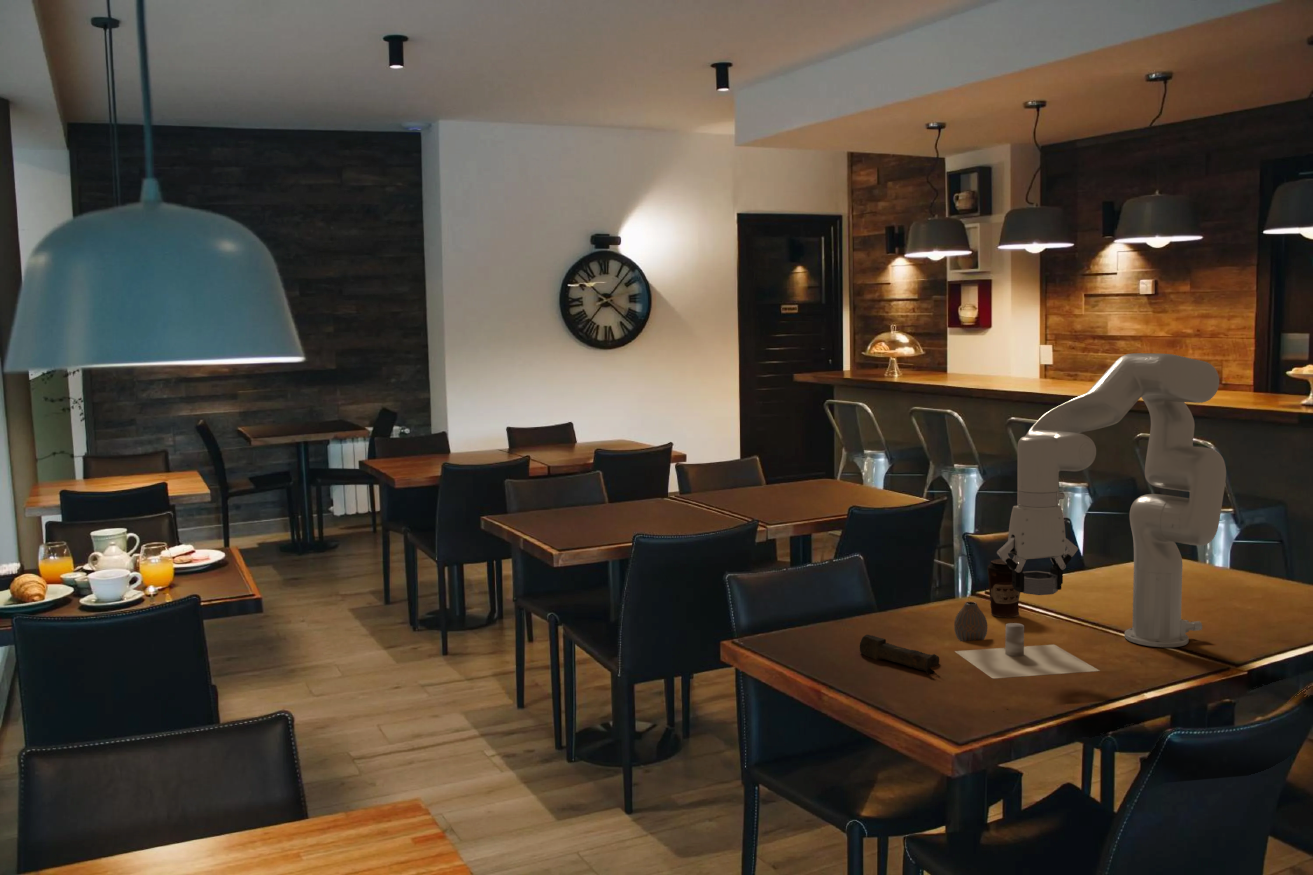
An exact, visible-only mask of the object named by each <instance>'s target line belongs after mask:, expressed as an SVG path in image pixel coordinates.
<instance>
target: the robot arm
mask: <svg viewBox="0 0 1313 875" xmlns="http://www.w3.org/2000/svg"><path fill="white" fill-rule="evenodd" d="M1219 386H1220V377H1219V373H1218V371H1217V369H1216V368H1215V366H1213V364H1211V363H1209V362H1208V361H1204V360H1199V359H1195V358H1191V357H1190V358H1189V357H1186V356H1181V355H1177V354H1172V353H1151V352H1150V353H1142V352H1139V353H1138V352H1136V353H1126V354H1124V355H1122V356H1120V357H1118V358H1117V359H1116V360H1115V361H1114V363H1113V364H1112V365H1111V366H1110V367H1109V368H1108V369H1107V370H1106V371H1105V372H1104V374H1103V375H1102V376H1100V378H1099V379H1098V380H1097V381H1096V382H1095V383H1094V384H1093V385H1092V386H1091V387H1090V388H1089V389H1088V391H1086V392H1085V393H1083V394H1081V395H1079V396H1077V397H1074V398H1072V399H1070V400H1068V401H1066V402H1063V403H1061V404H1060V405H1058V406H1055V407H1054V408H1051V409H1050V410H1049V411H1047V412H1045V413H1044V414H1043V415H1042V416H1041V417H1040V418H1039V419H1038V420H1037V421H1036V422H1035V423H1034V424H1033V425H1032V426H1031V427H1030V428H1029V430H1028V431H1027V432H1026V434H1025V435H1024V436H1022V437H1020V439H1019V440H1018V442H1017V498H1016V499H1017V501H1016V502H1017V505H1013V506H1012V509H1011V513H1010V514H1011V515H1010V519H1009V525H1008V527H1009V528H1008V534H1007V535H1008V536H1007V541H1006V542H1005V544H1003V546H1001V547H1000V548H999V549H998V550H997V551H996V554H997V556H999V559H1002V560H1003V561H1004V563H1005V564H1006V565H1007V566H1009V568H1010V569H1011V570H1012V586H1013V587H1014V590H1016V591H1018V592H1020V594H1021V593H1022V592H1024V572H1025V571H1023V572H1022V568H1023V567H1024V566H1025V564H1026V561H1027V560H1035V559H1044V558H1045V559H1050V561H1051V563H1052V566H1050V568H1049V570H1050V571H1049V572H1050V573H1052V574H1055V575H1057V576H1058V591H1059V590H1062V585H1063V583H1064V570H1065V569H1066V567H1067V565H1068V564H1069V563H1070V561H1071V560H1072V557H1074V556H1075V554H1076V553H1077V551H1078V550H1079V549H1078V547H1077V546H1076V545H1075V544H1074V543H1073V542H1072V541H1070V539H1068V538H1066V525H1065V518H1064V514H1063V510H1062V506H1061V505H1059V504H1060V500H1064V499H1065V492H1062V491H1061V492H1060V490H1059V489H1060V488H1059V482H1060V481H1059V480H1060V479H1059V478H1060V477H1059V474H1060V472H1061V471H1063V472H1064V471H1065V472H1066V471H1067V472H1081V471H1083V470H1085V469H1087V468H1089V467H1090V466H1091V465H1092V464H1093V463H1094V461H1095V459H1096V456H1097V448H1096V445H1095V441H1093V439H1092V438H1090V436H1087V435H1086V434H1083V433H1084V432H1089V431H1095V430H1100V429H1102V428H1107V427H1110V426H1113V425H1116V424H1118V423H1119V422H1121V420H1123V418H1124V417H1125V416H1126V415H1127V414H1128V412H1129V411H1130V410H1131V409H1132V408H1133V407H1134V405H1135V404H1136V403H1137V402H1138V401H1139V400H1141V399H1142V401H1143V402H1144V404H1145V405H1146V407H1147V410H1148V412H1149V417H1150V429H1149V430H1150V432H1149V436H1148V442H1147V449H1146V450H1147V451H1146V455H1145V456H1146V458H1145V462H1144V463H1145V465H1144V476H1145V480H1146V482H1148V484H1150V485H1151V486H1153V487H1156V488H1160V489H1167V490H1174V491H1182V492H1188V493H1189V496H1188V497H1183V496H1182V497H1181V496H1176V495H1175V496H1174V495H1167V494H1159V493H1149V494H1147V493H1146V494H1144V495H1140V496H1139V497H1137V498H1136V499H1134V501H1133V502H1132V504H1131V506H1130V510H1129V524H1130V528H1131V533H1132V540H1133V543H1132V544H1133V580H1132V581H1133V583H1132V584H1133V587H1132V588H1133V589H1132V590H1133V591H1132V594H1133V595H1132V627H1130V628H1128V629H1126V630H1125V631H1124V638H1125V639H1126V640H1127V641H1129V642H1130V643H1134V644H1138V645H1141V646H1147V647H1154V648H1178V647H1184V646H1186V645H1187V644H1188V643H1189V637H1190V636H1188V635H1187V634H1186V633H1189V631H1191V632H1192V631H1193V632H1195V631H1196V632H1197V631H1202V630H1203V624H1202V622H1201V621H1200V620H1198V621H1197V620H1196V621H1189V620H1188V619H1182V593H1183V592H1182V590H1183V589H1182V588H1183V558H1182V555H1181V552H1180V549H1179V548H1178V545H1177V544H1176V543H1178V544H1184V545H1190V546H1206V545H1207V544H1210V543H1211V542H1212V541H1213V540H1214V539H1215V537H1216V535H1217V533H1218V530H1219V529H1218V528H1219V524H1220V518H1221V513H1222V506H1223V500H1224V493H1225V488H1226V487H1225V486H1226V481H1227V480H1226V479H1227V469H1226V462H1225V460H1224V458H1223V456H1222V454H1220V452H1218V451H1217V450H1215V449H1213V448H1209V447H1205V446H1194V444H1193V443H1194V435H1195V425H1196V424H1195V420H1194V417H1193V414H1192V411H1191V409H1190V408H1189V407H1188V405H1187V404H1186V403H1193V404H1195V403H1196V404H1199V403H1201V404H1202V403H1206V402H1209V401H1210V400H1211V399H1213V398H1214V397H1215V395H1216V394H1217V392H1218V390H1219ZM1009 554H1010V555H1013V557H1012V558H1011V557H1010V556H1009Z"/></svg>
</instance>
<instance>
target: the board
mask: <svg viewBox="0 0 1313 875" xmlns="http://www.w3.org/2000/svg"><path fill="white" fill-rule="evenodd" d="M1004 646H1005V647H1000V648H999V647H998V648H996V647H995V648H983V649H981V648H980V649H969V650H966V649H965V650H954V652H955V653H956V654H957V655H959V656H960V657H961V658H963V659H964V660H965V661H967V662H969V663H970V664H971V665H972V666H974V667H975V668H977V669H978V670H980V671H981V672H983V673H984V674H985V675H987V676H988V677H990V678H991V679H1007V678H1019V677H1020V678H1021V677H1032V676H1033V677H1034V676H1035V677H1036V676H1047V675H1048V676H1050V675H1061V674H1062V675H1063V674H1064V675H1067V674H1076V673H1078V674H1079V673H1080V674H1081V673H1091V672H1100V671H1101V670H1100V669H1098V668H1096V667H1094V666H1093V665H1091V664H1089V663H1087V662H1086V661H1084V660H1082V659H1081V658H1079V657H1077V656H1076V655H1073V654H1072V653H1070V652H1068V651H1067V650H1065V649H1063V648H1061V647H1059V646H1058V645H1056V644H1042V645H1028V646H1025V625H1024V624H1022V623H1019V622H1018V623H1017V622H1014V623H1013V622H1009V623H1006V624H1005V644H1004Z"/></svg>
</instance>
